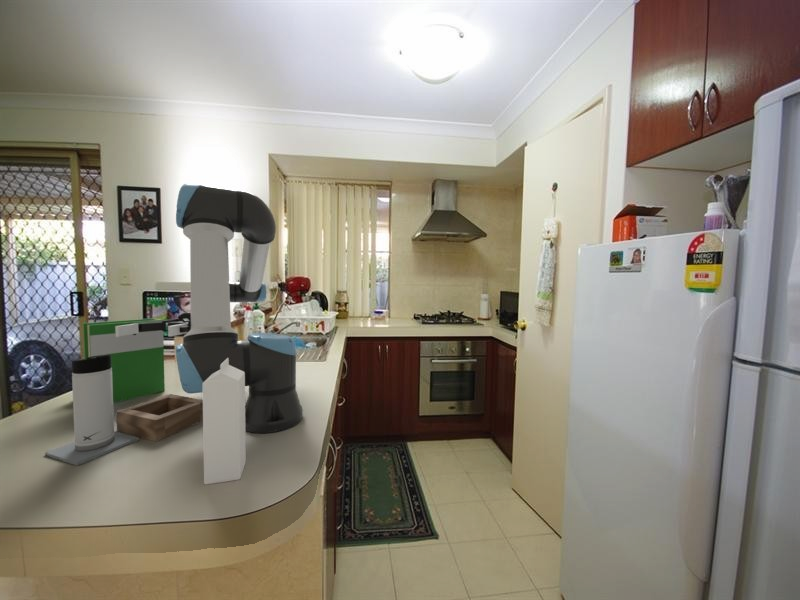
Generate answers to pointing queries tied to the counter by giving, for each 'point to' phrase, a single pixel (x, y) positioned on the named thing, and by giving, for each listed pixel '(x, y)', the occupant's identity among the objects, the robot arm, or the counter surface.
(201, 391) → the robot arm
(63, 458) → the slate mat
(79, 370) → the travel mug
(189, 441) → the counter surface
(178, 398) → the cup stand
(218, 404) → the milk
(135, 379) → the hardback book
